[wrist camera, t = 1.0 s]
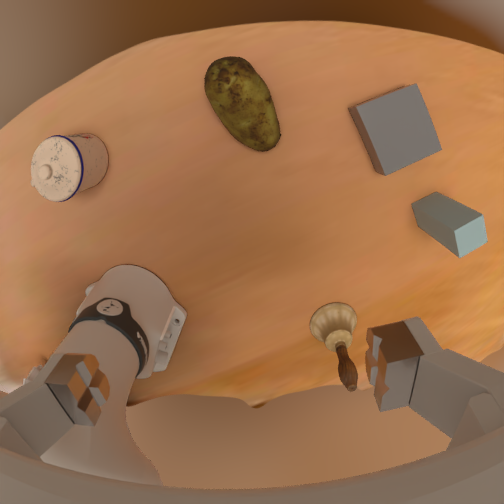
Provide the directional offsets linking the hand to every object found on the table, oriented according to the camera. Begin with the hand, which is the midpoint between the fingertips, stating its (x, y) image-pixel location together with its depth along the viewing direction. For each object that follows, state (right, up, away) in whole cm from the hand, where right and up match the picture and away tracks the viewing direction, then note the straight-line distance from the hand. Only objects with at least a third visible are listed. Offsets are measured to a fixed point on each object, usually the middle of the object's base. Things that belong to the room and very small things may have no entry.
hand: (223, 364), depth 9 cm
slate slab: (+21, +21, +32) cm, 44 cm away
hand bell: (+15, -9, +45) cm, 48 cm away
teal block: (+28, +10, +36) cm, 47 cm away
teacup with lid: (-26, +17, +35) cm, 47 cm away
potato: (0, +23, +32) cm, 40 cm away
